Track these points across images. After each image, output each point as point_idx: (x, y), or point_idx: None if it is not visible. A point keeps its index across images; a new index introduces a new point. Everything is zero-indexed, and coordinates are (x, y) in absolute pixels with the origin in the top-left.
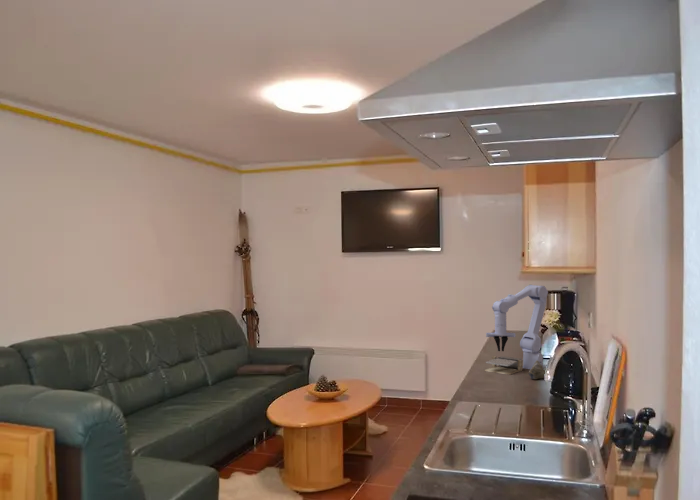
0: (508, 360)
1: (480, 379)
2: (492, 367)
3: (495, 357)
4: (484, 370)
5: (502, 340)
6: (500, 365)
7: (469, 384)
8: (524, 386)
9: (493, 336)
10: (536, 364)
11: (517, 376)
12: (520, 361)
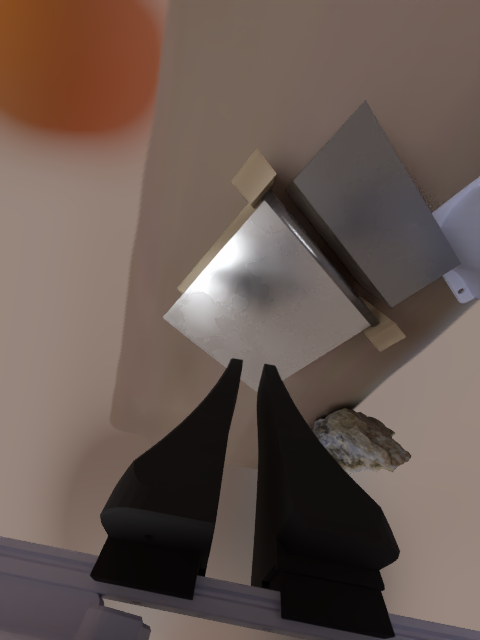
0: (320, 299)
1: (150, 397)
2: (233, 227)
3: (262, 191)
4: (178, 288)
5: (264, 504)
6: (295, 201)
7: (118, 429)
8: (254, 462)
9: (88, 571)
10: (361, 470)
11: (286, 386)
12: (375, 346)
